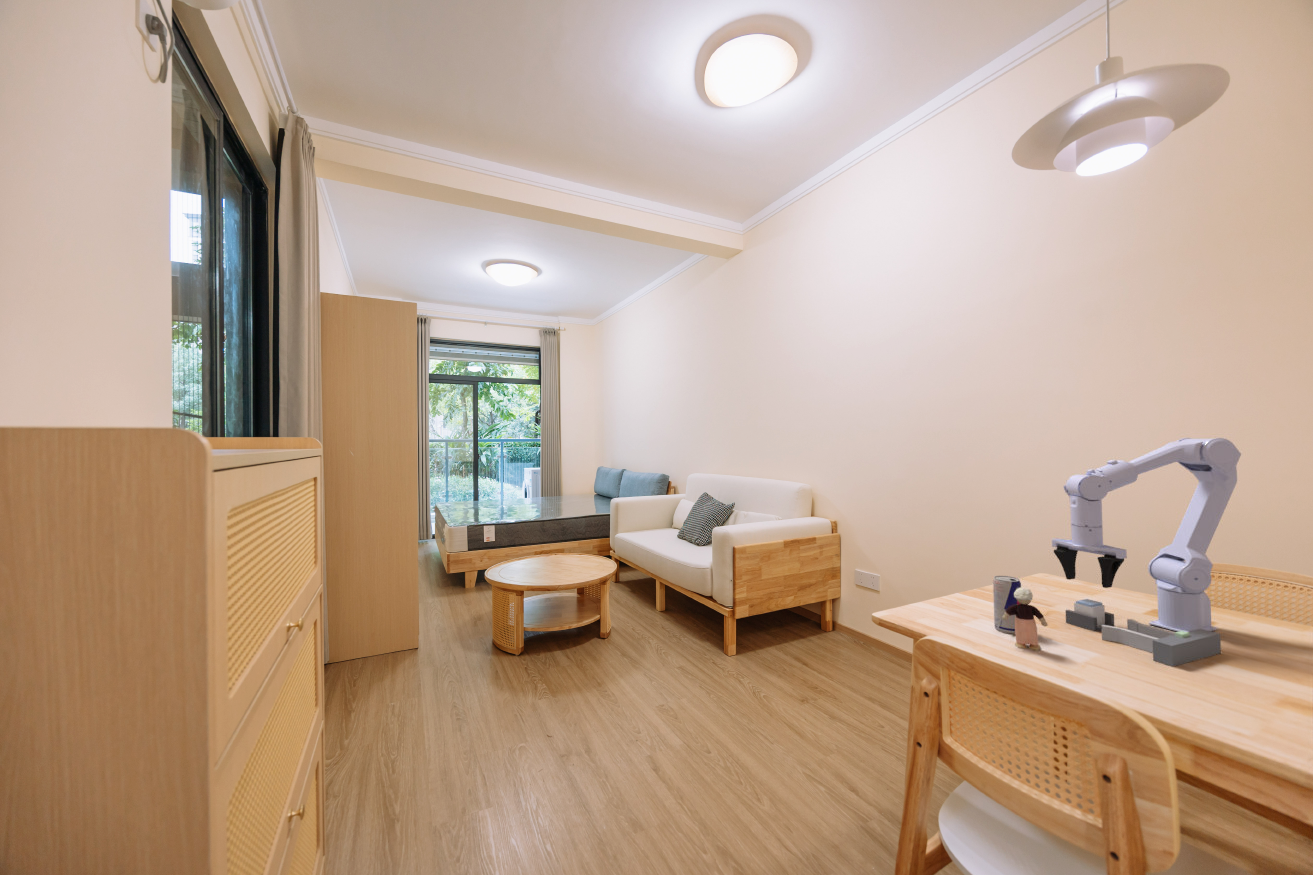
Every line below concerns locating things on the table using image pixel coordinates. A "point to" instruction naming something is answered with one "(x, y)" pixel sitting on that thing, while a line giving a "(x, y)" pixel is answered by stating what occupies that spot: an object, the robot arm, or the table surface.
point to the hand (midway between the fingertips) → (1088, 582)
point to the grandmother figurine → (1025, 619)
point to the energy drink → (1004, 602)
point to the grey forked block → (1166, 642)
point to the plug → (1091, 609)
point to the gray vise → (1088, 620)
